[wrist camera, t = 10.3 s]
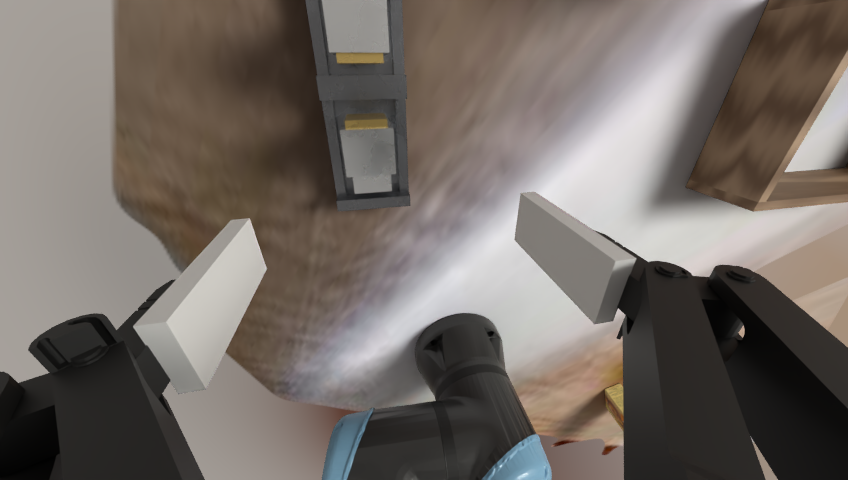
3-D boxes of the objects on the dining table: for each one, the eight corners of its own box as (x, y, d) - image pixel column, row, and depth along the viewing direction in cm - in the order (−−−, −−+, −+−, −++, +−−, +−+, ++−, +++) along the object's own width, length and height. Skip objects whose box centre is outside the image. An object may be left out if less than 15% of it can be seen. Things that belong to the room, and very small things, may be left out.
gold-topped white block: (390, 185, 34) (398, 217, 27) (355, 187, 34) (353, 222, 26) (384, 107, 30) (392, 119, 22) (344, 108, 30) (338, 121, 22)
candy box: (620, 400, 74) (676, 472, 61) (604, 407, 74) (657, 479, 61) (619, 382, 69) (680, 454, 56) (602, 389, 69) (658, 463, 56)
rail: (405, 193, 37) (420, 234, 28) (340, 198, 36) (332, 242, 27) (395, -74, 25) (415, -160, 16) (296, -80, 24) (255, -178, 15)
